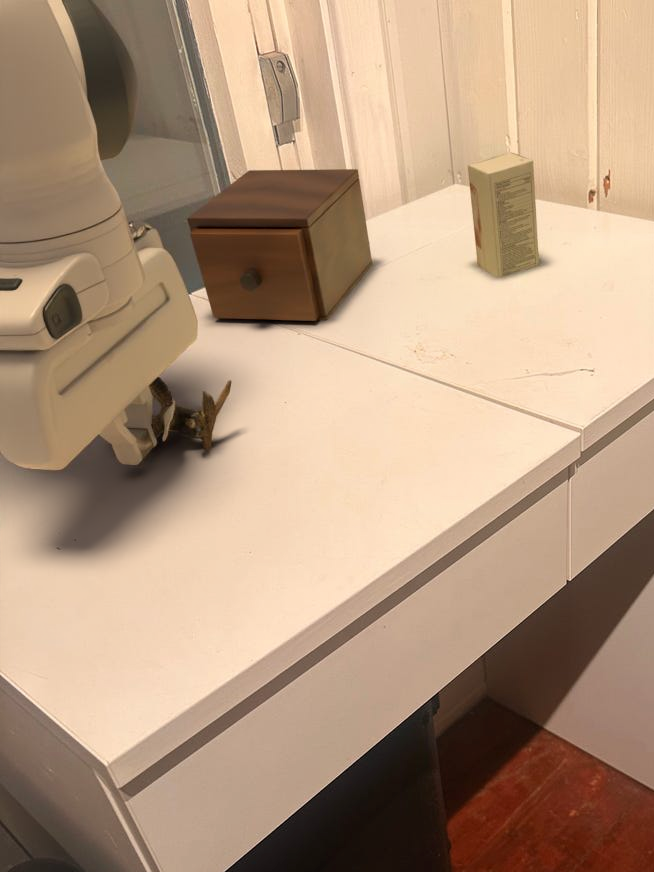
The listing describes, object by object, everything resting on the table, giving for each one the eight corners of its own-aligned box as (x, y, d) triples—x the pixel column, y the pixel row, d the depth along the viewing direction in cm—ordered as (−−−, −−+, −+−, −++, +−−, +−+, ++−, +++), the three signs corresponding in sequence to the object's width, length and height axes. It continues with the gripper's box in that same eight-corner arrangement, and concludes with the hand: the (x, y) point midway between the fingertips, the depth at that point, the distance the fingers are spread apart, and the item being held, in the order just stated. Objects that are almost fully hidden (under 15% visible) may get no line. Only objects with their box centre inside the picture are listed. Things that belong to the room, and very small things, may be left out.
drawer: (310, 326, 83) (292, 239, 78) (207, 323, 86) (183, 238, 80) (359, 268, 93) (345, 186, 87) (265, 266, 95) (247, 187, 90)
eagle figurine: (253, 405, 72) (160, 371, 74) (214, 359, 65) (113, 323, 67) (211, 490, 71) (117, 453, 73) (166, 453, 64) (65, 413, 66)
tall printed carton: (517, 256, 94) (512, 150, 87) (540, 269, 91) (537, 159, 84) (473, 270, 92) (465, 162, 86) (496, 283, 90) (489, 172, 83)
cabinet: (327, 325, 85) (306, 218, 79) (215, 321, 88) (186, 218, 81) (373, 268, 95) (358, 168, 88) (271, 266, 97) (248, 170, 91)
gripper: (109, 209, 66) (168, 385, 75) (-81, 333, 51) (22, 532, 61) (187, 209, 64) (237, 388, 74) (14, 336, 50) (104, 539, 59)
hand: (139, 455), depth 67 cm, fingers closed
